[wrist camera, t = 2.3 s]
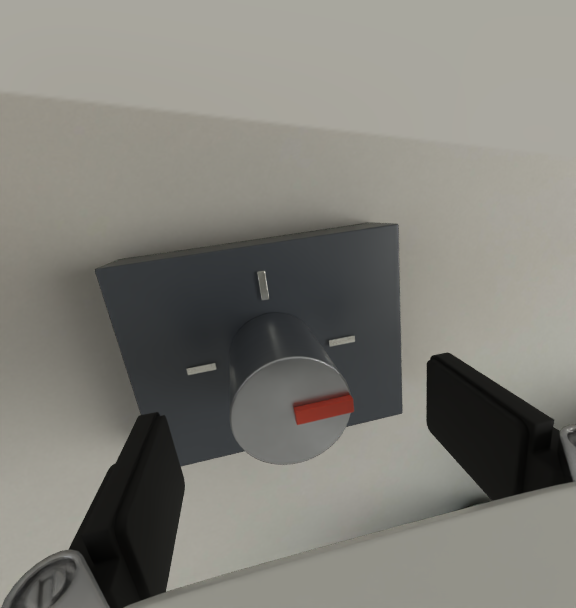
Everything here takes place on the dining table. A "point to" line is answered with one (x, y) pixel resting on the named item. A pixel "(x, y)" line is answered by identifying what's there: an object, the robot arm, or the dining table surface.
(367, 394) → the panel
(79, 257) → the dining table surface
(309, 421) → the dial
